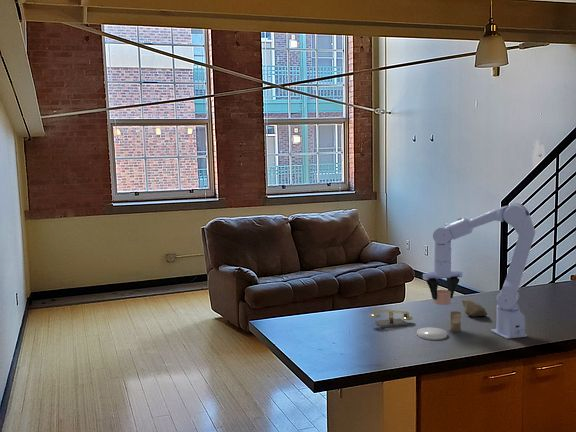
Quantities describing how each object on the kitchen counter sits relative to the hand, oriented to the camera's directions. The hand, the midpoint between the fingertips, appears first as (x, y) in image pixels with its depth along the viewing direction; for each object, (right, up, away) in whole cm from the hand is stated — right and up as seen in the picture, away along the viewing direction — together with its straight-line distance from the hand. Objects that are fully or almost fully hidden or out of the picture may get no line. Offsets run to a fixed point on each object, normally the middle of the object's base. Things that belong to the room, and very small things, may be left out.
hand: (442, 298), depth 209 cm
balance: (-18, -10, +4) cm, 21 cm away
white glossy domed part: (-6, -11, -9) cm, 16 cm away
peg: (+3, -11, -5) cm, 12 cm away
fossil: (+15, -9, +13) cm, 22 cm away
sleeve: (0, -2, 0) cm, 2 cm away
